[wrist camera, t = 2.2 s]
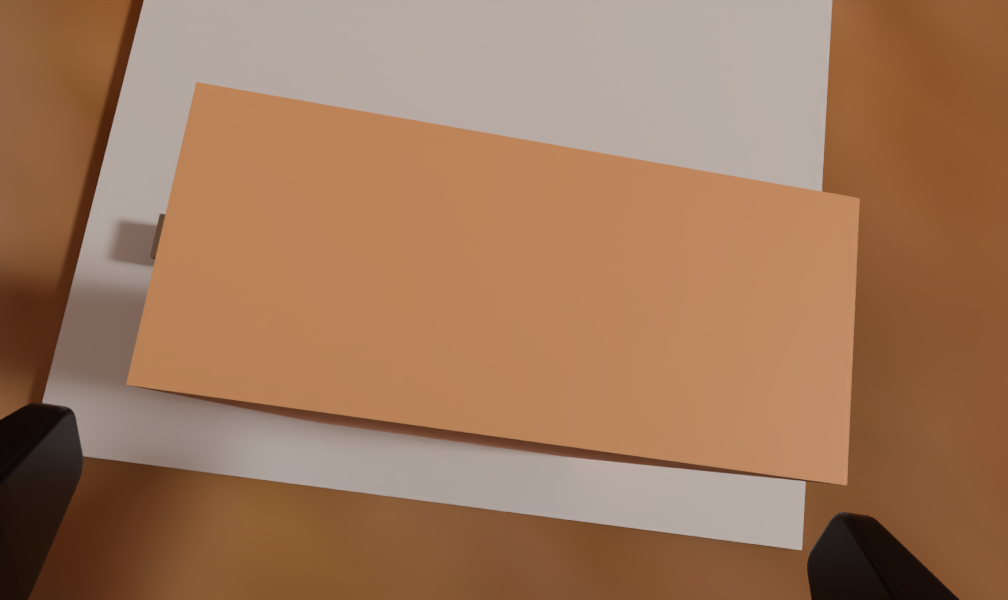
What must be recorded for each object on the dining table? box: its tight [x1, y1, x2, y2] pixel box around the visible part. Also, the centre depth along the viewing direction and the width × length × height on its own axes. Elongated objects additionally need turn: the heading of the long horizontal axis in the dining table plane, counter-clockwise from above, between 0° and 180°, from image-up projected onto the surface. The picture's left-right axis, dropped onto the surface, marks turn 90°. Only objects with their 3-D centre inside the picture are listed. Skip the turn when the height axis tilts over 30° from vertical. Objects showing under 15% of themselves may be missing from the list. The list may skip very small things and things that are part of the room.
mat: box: [42, 0, 832, 550], centre depth 20 cm, size 24×18×1 cm
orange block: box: [126, 82, 860, 485], centre depth 12 cm, size 3×6×12 cm, turn 82°
